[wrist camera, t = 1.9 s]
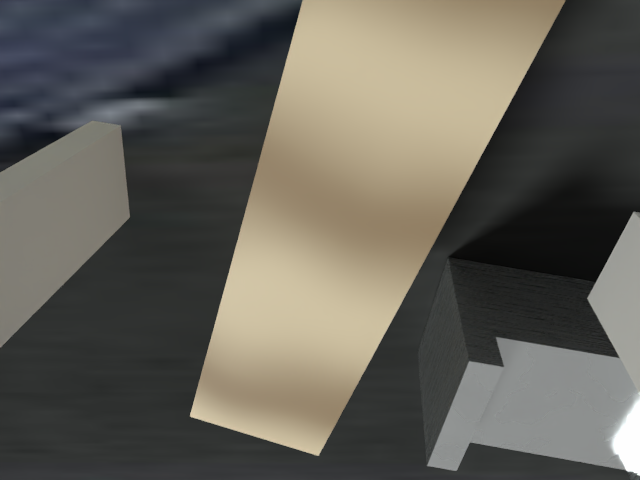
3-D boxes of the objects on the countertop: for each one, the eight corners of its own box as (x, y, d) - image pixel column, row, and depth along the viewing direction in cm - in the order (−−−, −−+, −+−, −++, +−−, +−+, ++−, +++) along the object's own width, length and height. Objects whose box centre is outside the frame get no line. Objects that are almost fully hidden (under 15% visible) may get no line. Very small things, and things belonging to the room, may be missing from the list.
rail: (336, 316, 25) (318, 455, 18) (243, 286, 24) (189, 416, 18) (553, -161, 14) (706, -260, 8) (396, -226, 14) (408, -390, 7)
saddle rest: (417, 351, 25) (426, 465, 20) (447, 257, 22) (469, 361, 16) (608, 384, 25) (672, 510, 19) (667, 293, 22) (764, 412, 16)
